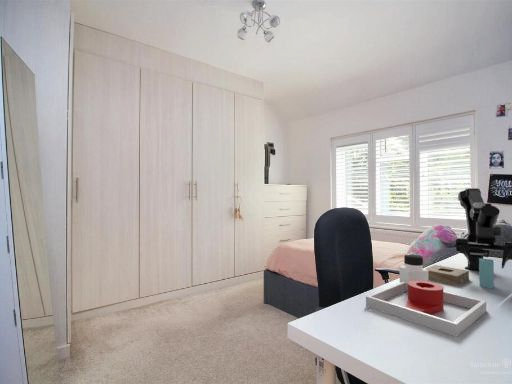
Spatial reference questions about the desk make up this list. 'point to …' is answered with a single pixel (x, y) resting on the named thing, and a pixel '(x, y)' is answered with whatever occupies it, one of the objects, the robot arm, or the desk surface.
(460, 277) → the brown flat block
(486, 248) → the robot arm
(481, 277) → the plug
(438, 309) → the red oval ring
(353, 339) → the desk surface
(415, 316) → the tray
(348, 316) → the desk surface
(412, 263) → the medicine bottle
